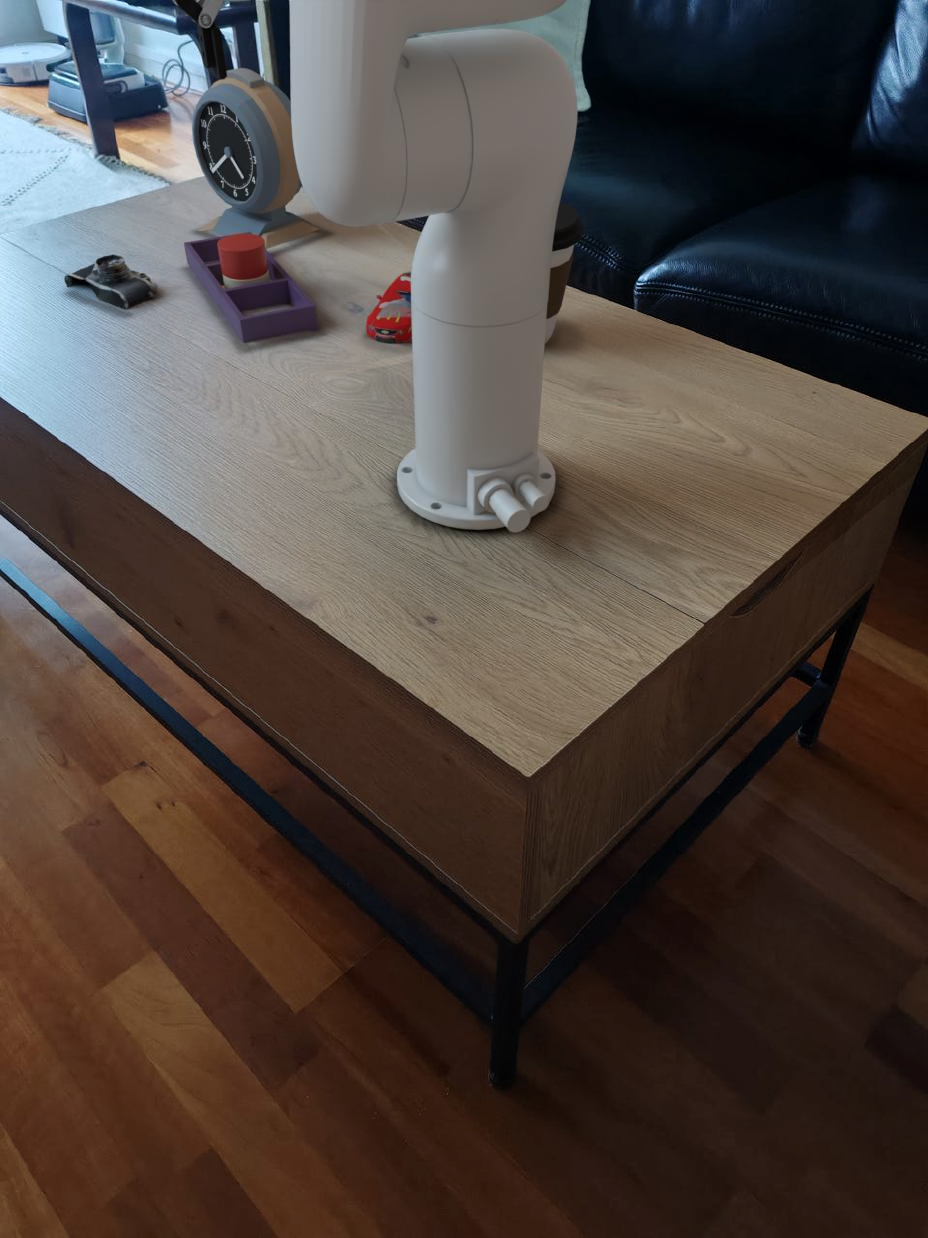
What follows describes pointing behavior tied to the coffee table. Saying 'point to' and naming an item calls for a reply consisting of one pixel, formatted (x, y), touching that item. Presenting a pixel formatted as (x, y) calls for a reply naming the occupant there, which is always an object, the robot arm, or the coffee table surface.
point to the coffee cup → (561, 260)
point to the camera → (115, 282)
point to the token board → (252, 296)
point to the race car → (393, 313)
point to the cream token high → (245, 281)
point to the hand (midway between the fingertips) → (270, 70)
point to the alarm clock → (249, 157)
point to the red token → (242, 256)
